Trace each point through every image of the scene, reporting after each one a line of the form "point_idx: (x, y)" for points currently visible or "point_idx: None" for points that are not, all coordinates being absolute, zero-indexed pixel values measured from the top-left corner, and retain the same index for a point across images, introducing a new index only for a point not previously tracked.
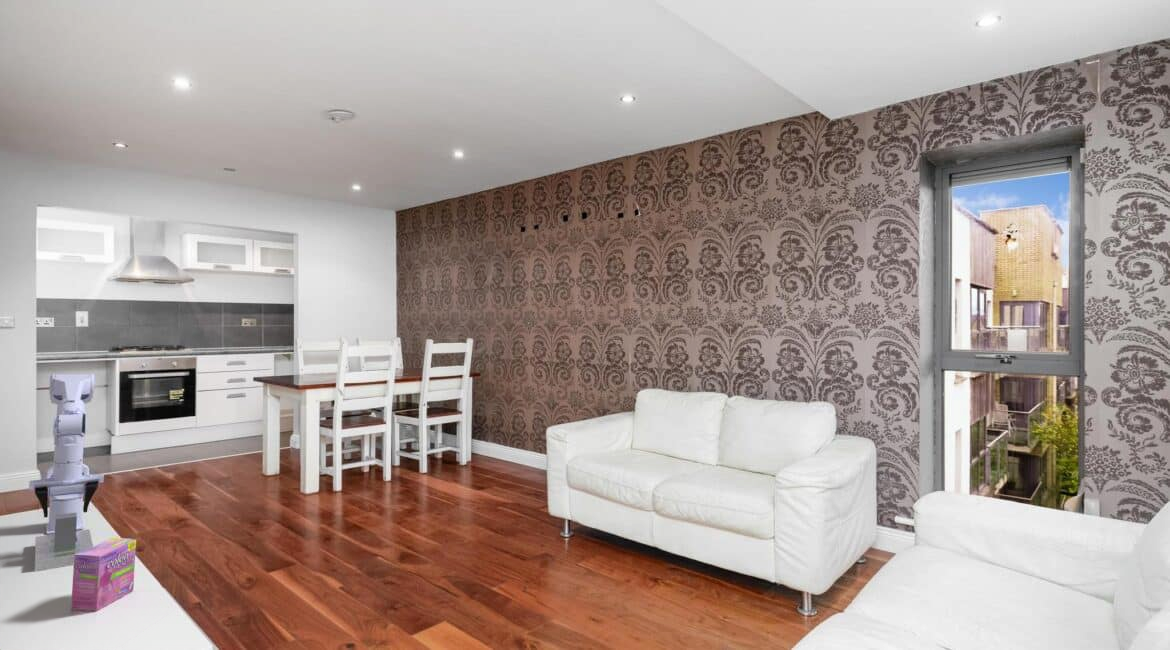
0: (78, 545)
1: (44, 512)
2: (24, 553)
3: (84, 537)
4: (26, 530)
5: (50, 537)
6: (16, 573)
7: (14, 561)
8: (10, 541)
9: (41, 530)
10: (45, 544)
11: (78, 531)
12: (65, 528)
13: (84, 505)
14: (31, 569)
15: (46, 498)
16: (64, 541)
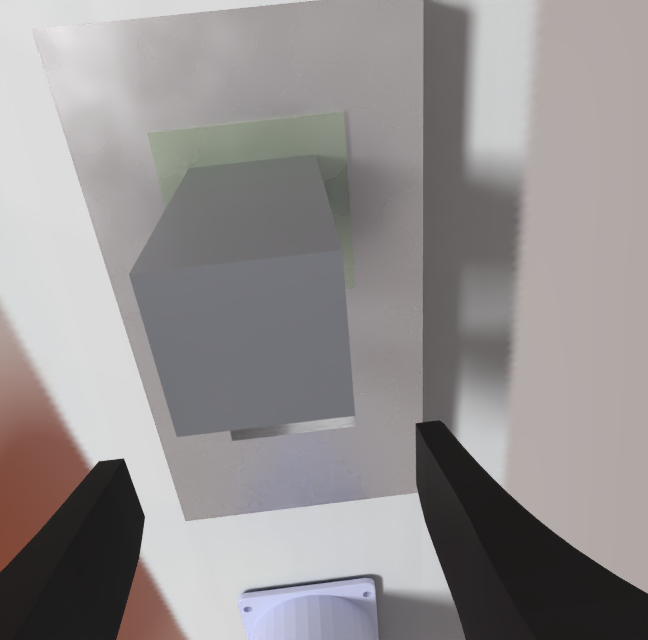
0: None
1: (459, 447)
2: (452, 375)
3: None
4: (441, 636)
5: (356, 459)
6: (500, 13)
7: (497, 268)
8: None
9: (392, 624)
10: (374, 351)
11: (233, 504)
12: (247, 218)
13: (89, 509)
14: None
15: (516, 584)
16: (254, 179)
